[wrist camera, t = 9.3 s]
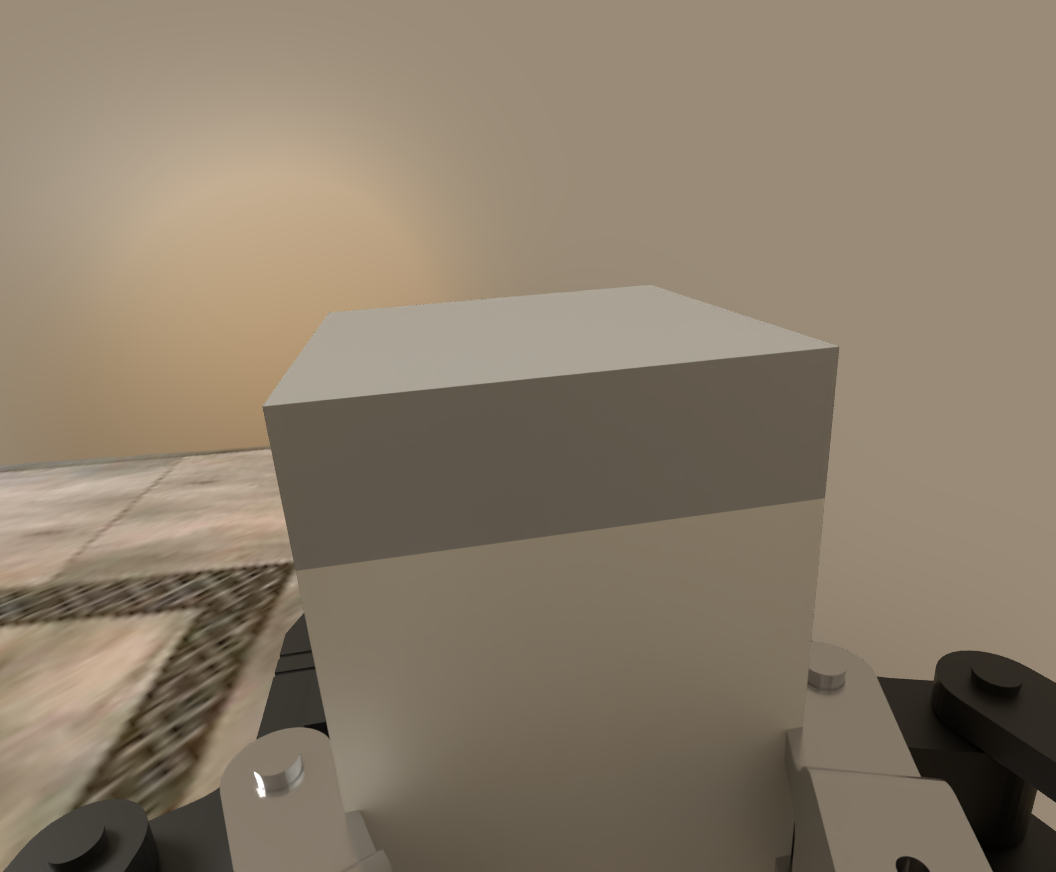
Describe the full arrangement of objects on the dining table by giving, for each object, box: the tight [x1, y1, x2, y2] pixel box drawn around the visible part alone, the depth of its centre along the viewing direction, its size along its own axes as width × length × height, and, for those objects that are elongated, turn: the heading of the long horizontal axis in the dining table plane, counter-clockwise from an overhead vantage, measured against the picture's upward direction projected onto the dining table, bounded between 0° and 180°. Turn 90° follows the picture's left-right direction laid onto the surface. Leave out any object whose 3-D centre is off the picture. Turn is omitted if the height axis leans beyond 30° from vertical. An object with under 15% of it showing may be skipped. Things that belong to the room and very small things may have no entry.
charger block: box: [263, 285, 839, 872], centre depth 10 cm, size 5×5×14 cm
